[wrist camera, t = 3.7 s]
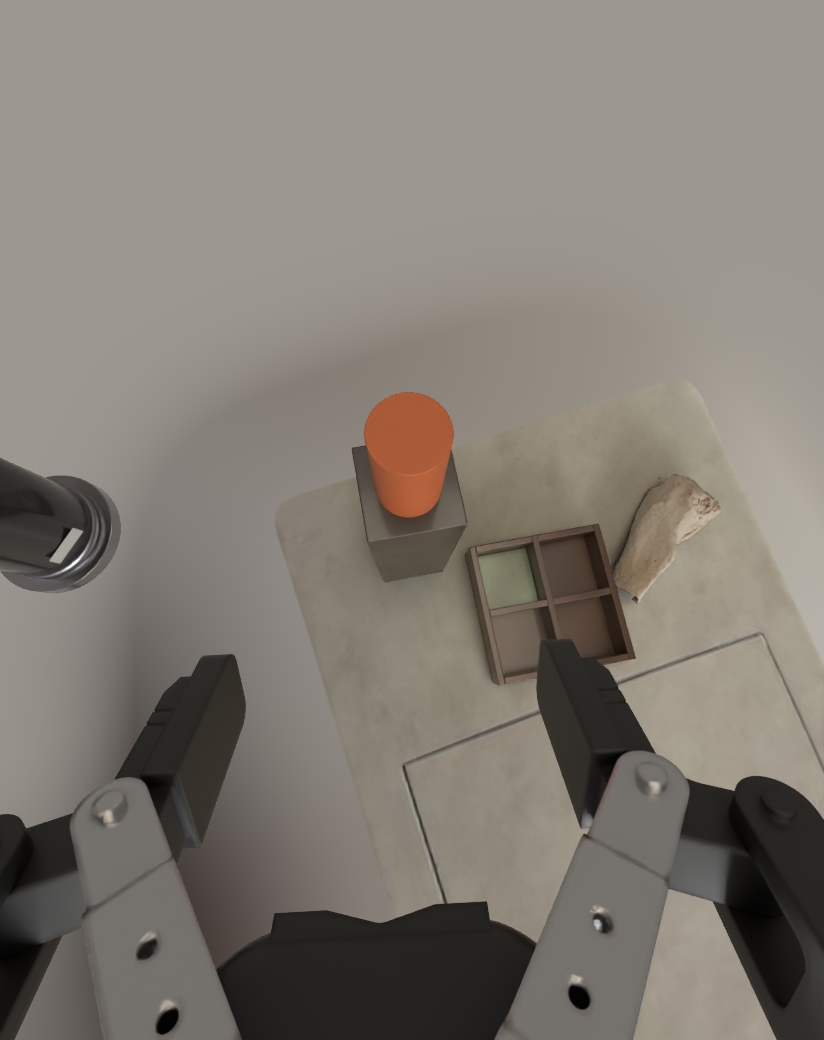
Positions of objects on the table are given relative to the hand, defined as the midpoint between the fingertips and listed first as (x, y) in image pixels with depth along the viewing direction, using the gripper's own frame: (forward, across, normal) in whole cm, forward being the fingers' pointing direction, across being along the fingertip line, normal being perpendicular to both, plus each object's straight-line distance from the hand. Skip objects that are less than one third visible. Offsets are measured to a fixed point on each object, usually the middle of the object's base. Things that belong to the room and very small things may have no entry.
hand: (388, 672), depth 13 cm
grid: (+32, -14, +20) cm, 40 cm away
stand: (+36, -1, +15) cm, 39 cm away
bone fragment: (+35, -26, +16) cm, 47 cm away
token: (+18, -1, +2) cm, 18 cm away
